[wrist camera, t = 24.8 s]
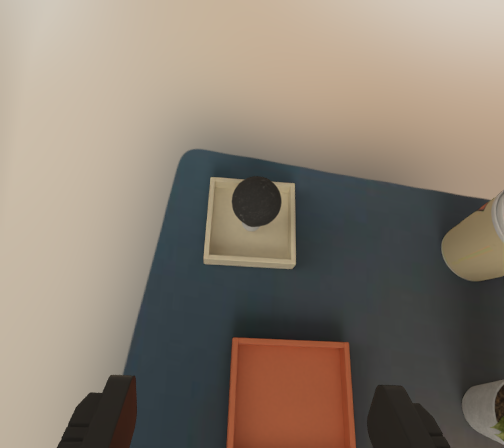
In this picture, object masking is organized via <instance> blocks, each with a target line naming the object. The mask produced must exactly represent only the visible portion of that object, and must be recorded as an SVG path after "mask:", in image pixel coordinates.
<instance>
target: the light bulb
mask: <svg viewBox="0 0 504 448" xmlns="http://www.w3.org/2000/svg"><path fill="white" fill-rule="evenodd" d="M281 204H282V200H281V194H280V191H279V190H278V188H277V186H276V185H275V184H274V183H273V182H272V181H270V180H269V179H267V178H264V177H258V176H254V177H249V178H247V179H245V180H243V181H242V182H240V183H239V184H238V186H237V187H236V188H235V190H234V192H233V195H232V208H233V211H234V213H235V215H236V216H237V218H238V219H239V220H240V221H241V222H242V225H243V227H244V228H245V229H246V230H247V231H252V232H253V231H256V230H257V229H258V228H259V227H260V226H264V225H267V224H269V223H270V222H272V221H273V220H274V219H275V218H276V217H277V215H278V213H279V211H280V208H281Z"/></svg>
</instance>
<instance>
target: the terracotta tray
mask: <svg viewBox="0 0 504 448" xmlns="http://www.w3.org/2000/svg"><path fill="white" fill-rule="evenodd" d="M226 448H356V442H355V427H354V412H353V397H352V382H351V367H350V352H349V343H348V342H328V341H305V340H282V339H258V338H235V337H234V338H233V339H232V351H231V370H230V389H229V408H228V428H227V447H226Z"/></svg>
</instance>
